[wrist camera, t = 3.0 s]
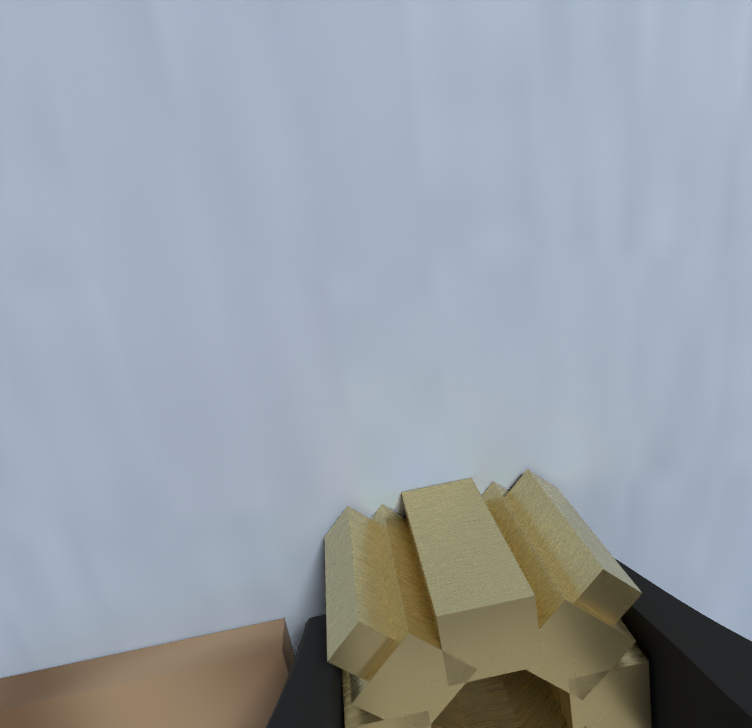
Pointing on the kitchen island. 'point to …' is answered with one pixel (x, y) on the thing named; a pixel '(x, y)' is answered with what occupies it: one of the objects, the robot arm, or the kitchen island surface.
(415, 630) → the brass gear
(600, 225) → the kitchen island surface
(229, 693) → the gear board
